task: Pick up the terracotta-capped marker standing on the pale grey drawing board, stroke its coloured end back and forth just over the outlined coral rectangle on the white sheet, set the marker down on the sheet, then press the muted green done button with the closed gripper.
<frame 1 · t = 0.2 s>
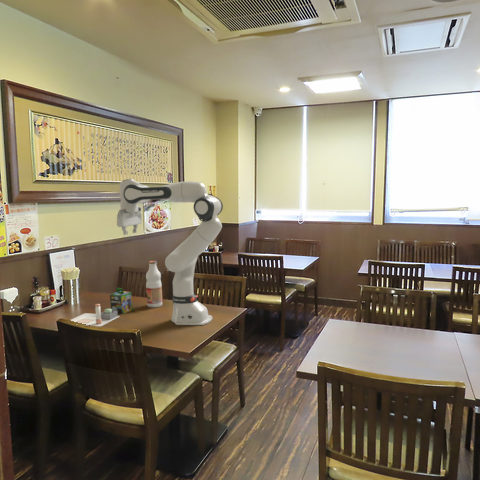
hand: (130, 233, 217), 47 cm above the table, fingers open, 8 cm apart
done button: (108, 312, 218), point 4 cm above the table, slide at 0.0 cm
board: (92, 320, 216), on the table
fruit juice: (154, 305, 243), on the table
chalk box: (122, 312, 231), on the table
marker: (98, 323, 209), point 1 cm above the table, touching board
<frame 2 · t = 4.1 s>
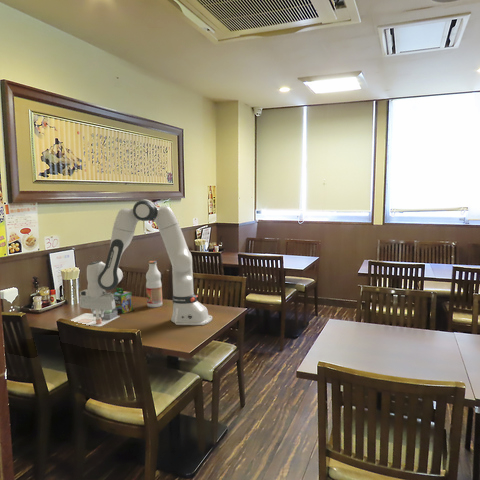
hand: (98, 316, 209), 4 cm above the table, fingers closed on marker, 2 cm apart
marker: (98, 323, 209), point 1 cm above the table, touching board, gripper
everything else where it was.
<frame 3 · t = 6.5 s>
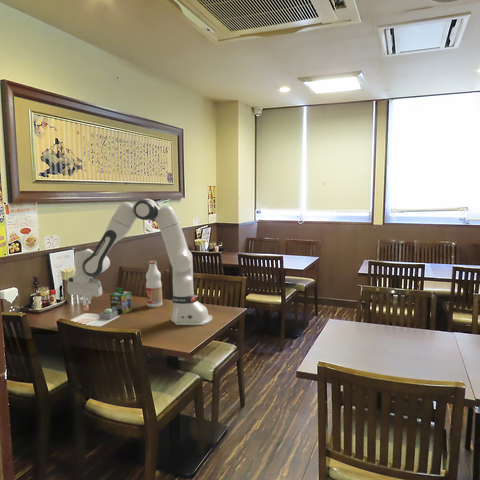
hand: (85, 303, 212), 11 cm above the table, fingers closed on marker, 2 cm apart
marker: (85, 309, 212), point 7 cm above the table, touching gripper
everything else where it was.
when the fingers open (4 cm above the table, at t = 9.3 s): marker stays where it is, resting on board.
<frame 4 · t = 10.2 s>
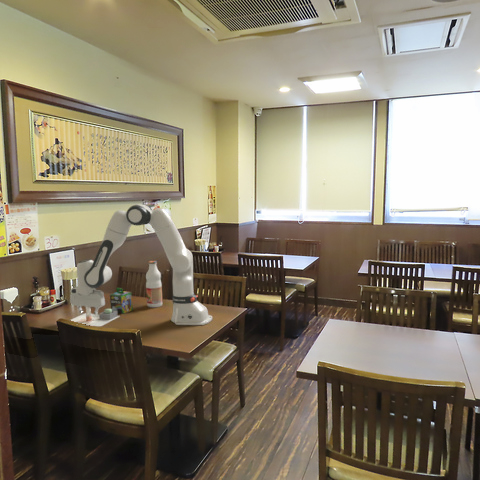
hand: (88, 313, 214), 4 cm above the table, fingers open, 8 cm apart
marker: (89, 320, 214), point 1 cm above the table, touching board
everything else where it was.
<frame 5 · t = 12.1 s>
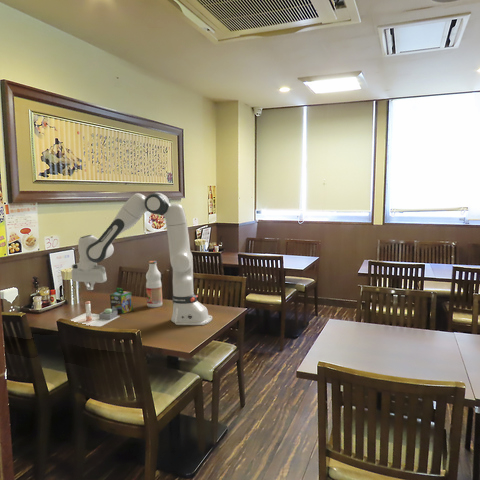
hand: (90, 289, 213), 18 cm above the table, fingers closed
nothing on the table moved.
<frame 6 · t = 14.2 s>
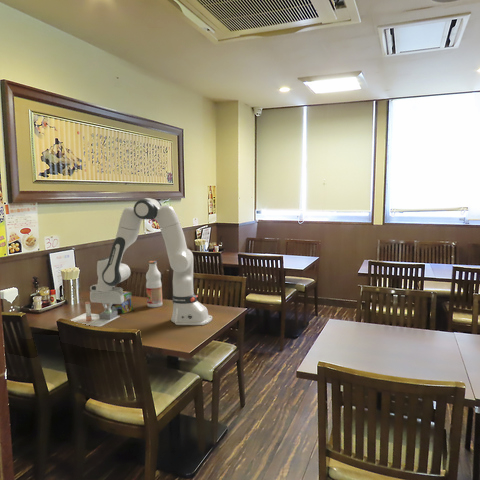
hand: (107, 310, 218), 5 cm above the table, fingers closed, pressing on done button
done button: (108, 313, 218), point 3 cm above the table, slide at 0.7 cm, touching gripper
everything else where it was.
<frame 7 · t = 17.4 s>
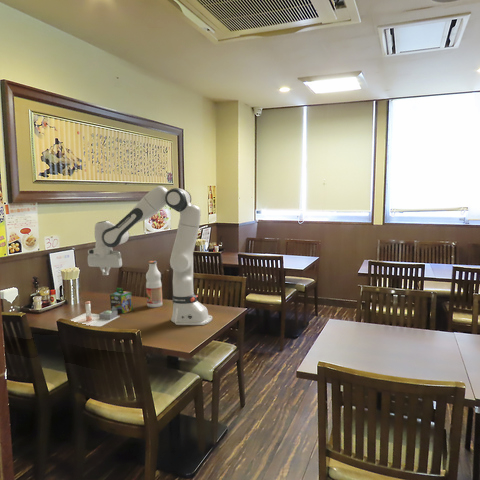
hand: (105, 274, 216), 25 cm above the table, fingers closed
done button: (108, 314, 219), point 3 cm above the table, slide at 1.3 cm
everything else where it was.
at the end: done button slide at 1.3 cm; the gripper is holding nothing; marker inside the target area (1.5 cm from its centre), point 0.7 cm above the table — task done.
